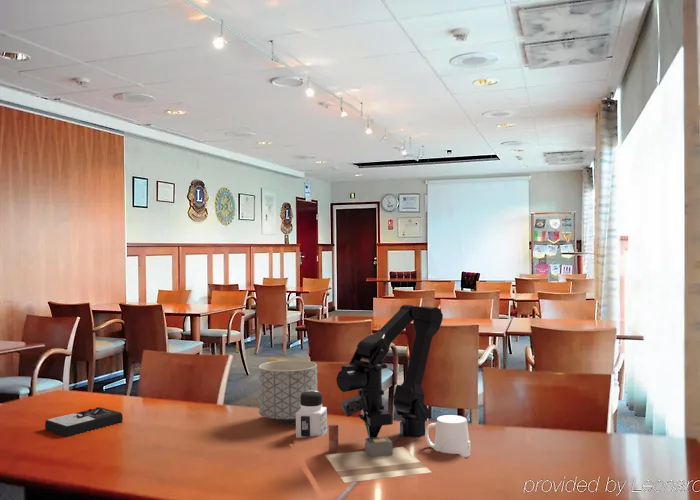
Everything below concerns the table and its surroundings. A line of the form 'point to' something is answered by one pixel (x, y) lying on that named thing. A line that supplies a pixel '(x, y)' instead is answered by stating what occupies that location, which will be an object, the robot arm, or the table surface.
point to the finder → (378, 446)
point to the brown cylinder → (333, 438)
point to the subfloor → (375, 465)
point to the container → (311, 415)
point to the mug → (450, 435)
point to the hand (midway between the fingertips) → (372, 442)
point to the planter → (284, 388)
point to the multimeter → (83, 421)
